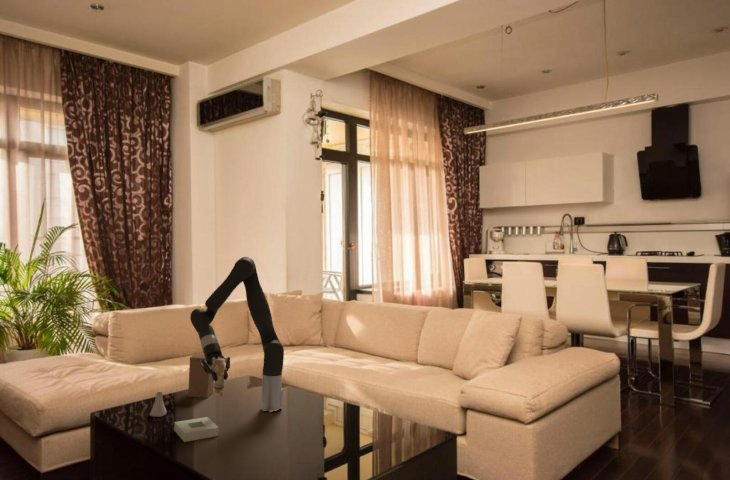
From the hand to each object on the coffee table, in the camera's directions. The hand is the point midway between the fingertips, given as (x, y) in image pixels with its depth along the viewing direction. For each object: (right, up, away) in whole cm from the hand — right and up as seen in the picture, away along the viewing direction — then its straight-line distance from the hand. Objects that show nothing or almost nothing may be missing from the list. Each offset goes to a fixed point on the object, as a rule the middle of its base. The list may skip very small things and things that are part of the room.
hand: (221, 379), depth 239 cm
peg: (-2, -7, +2) cm, 8 cm away
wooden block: (-21, -18, +39) cm, 48 cm away
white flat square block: (-8, -19, -12) cm, 24 cm away
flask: (-31, -18, +8) cm, 36 cm away
